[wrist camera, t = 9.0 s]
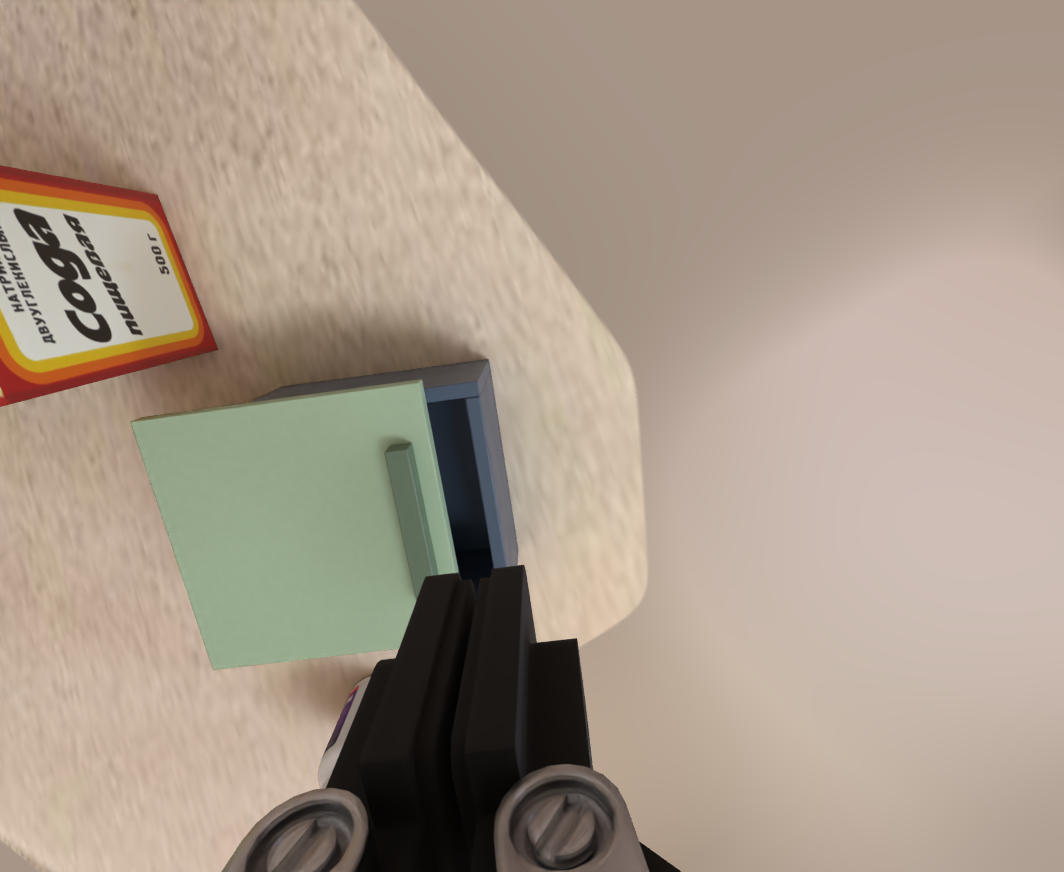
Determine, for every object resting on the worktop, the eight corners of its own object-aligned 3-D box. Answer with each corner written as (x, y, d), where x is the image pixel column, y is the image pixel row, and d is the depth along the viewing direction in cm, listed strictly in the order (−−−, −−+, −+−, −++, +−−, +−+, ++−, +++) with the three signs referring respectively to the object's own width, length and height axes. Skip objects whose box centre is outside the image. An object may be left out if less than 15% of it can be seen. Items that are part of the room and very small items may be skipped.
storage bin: (281, 386, 39) (221, 414, 31) (489, 359, 38) (477, 381, 31) (328, 573, 42) (285, 637, 35) (518, 551, 42) (514, 611, 34)
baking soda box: (57, 223, 36) (-303, 190, 20) (157, 194, 35) (-135, 140, 20) (124, 374, 38) (-152, 446, 23) (218, 349, 38) (0, 406, 23)
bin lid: (142, 416, 31) (113, 428, 29) (422, 379, 31) (413, 387, 28) (221, 659, 35) (201, 684, 33) (470, 630, 35) (465, 654, 33)
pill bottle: (372, 740, 46) (330, 861, 37) (336, 688, 45) (283, 799, 36) (433, 715, 45) (406, 832, 36) (398, 661, 44) (361, 767, 35)
